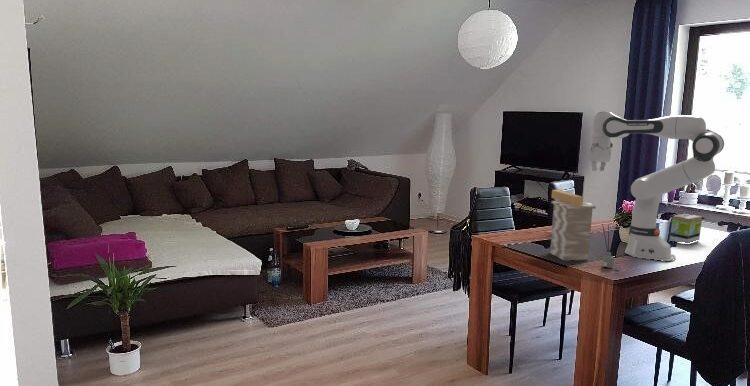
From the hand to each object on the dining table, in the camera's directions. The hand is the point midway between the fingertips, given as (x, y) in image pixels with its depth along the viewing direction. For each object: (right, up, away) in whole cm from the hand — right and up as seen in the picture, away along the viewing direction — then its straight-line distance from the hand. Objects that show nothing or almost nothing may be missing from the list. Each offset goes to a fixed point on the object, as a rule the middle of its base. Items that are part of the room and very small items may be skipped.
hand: (598, 170), depth 285 cm
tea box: (+56, -39, +22) cm, 72 cm away
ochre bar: (-21, -15, -13) cm, 29 cm away
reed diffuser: (-8, -45, -33) cm, 56 cm away
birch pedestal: (-20, -42, -15) cm, 49 cm away
